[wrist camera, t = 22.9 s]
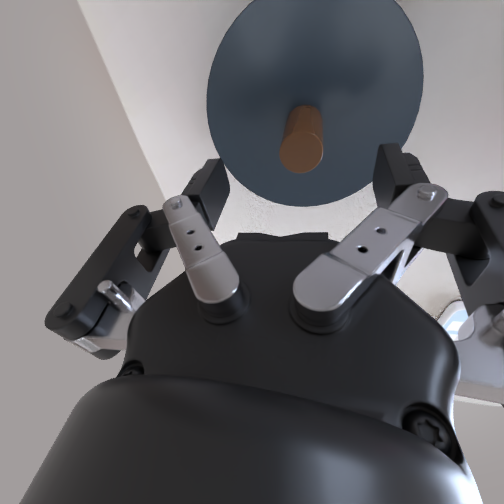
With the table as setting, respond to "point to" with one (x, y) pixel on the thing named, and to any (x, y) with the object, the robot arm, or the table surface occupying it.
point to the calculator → (453, 318)
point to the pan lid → (313, 95)
